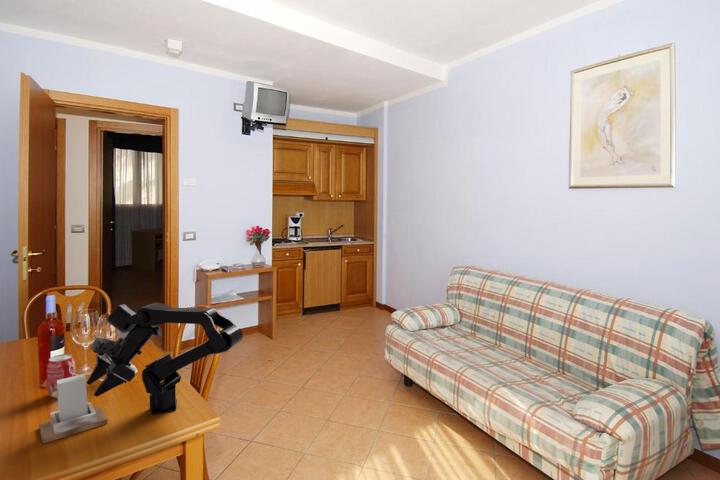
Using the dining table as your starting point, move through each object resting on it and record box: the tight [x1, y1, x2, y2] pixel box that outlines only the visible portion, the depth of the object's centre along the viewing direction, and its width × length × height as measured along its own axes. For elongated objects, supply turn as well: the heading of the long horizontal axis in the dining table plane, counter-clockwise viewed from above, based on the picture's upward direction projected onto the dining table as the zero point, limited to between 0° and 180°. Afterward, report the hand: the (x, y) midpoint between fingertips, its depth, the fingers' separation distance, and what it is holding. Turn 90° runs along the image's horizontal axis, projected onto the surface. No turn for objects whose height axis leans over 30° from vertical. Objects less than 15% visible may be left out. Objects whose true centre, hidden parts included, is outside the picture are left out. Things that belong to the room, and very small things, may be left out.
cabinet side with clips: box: [38, 401, 108, 444], centre depth 108 cm, size 14×9×4 cm, turn 133°
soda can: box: [46, 353, 76, 399], centre depth 125 cm, size 7×7×12 cm
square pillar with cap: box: [52, 373, 88, 423], centre depth 107 cm, size 7×5×12 cm
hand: (91, 389), depth 110 cm, fingers open, 9 cm apart
